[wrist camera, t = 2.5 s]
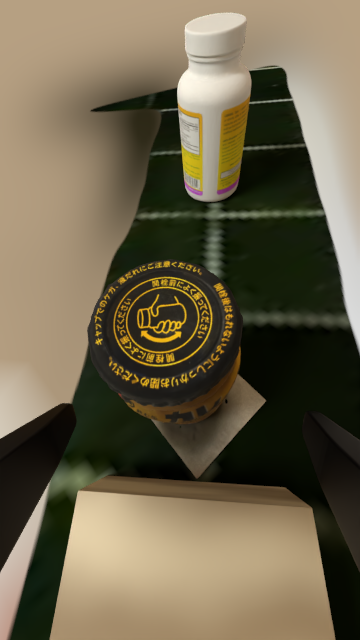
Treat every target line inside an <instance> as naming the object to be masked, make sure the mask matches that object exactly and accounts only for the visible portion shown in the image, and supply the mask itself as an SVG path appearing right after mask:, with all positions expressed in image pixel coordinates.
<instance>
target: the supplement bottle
mask: <svg viewBox="0 0 360 640" xmlns="http://www.w3.org/2000/svg"><path fill="white" fill-rule="evenodd" d="M245 32H246V17H245V16H243V15H241V14H238V13H216V14H211V15H206V16H202V17H199V18H196V19H194V20H192V21H190V22H189V23H187V24H186V26H185V50H186V52H187V57H188V58H189V69H187V71H185V72H184V74H183V75H182V77H181V79H180V81H179V84H178V90H177V95H178V109H179V121H180V132H181V145H182V157H183V169H184V180H185V187H186V190H187V192H188V194H189V195H190V196H191V197H193V198H194V199H196V200H199V201H203V202H216V201H220V200H223V199H225V198H227V197H229V196H230V195H231V194H232V193H233V192H234V191H235V190H236V188H237V185H238V181H239V174H240V167H241V159H242V152H243V144H244V137H245V129H246V122H247V114H248V107H249V100H250V92H251V76H250V73H249V71H248V69H247V68H246V67H245V66H244V65H243V64H242V63H240V52H241V50H242V48H243V44H244V42H245Z"/></svg>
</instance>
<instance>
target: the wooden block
mask: <svg viewBox="0 0 360 640" xmlns="http://www.w3.org/2000/svg"><path fill="white" fill-rule="evenodd" d="M50 640H335V634H334V629H333V623H332V617H331V612H330V606H329V600H328V595H327V589H326V583H325V578H324V572H323V566H322V561H321V555H320V549H319V544H318V538H317V533H316V527H315V521H314V516H313V510H312V508H311V507H310V506H309V505H307V504H306V503H305V502H303V501H302V500H301V499H299V498H298V497H297V496H295V495H294V494H293V493H291V492H290V491H289V490H288V489H286V488H285V487H271V486H256V485H241V484H226V483H211V482H196V481H181V480H166V479H151V478H136V477H121V476H106V477H104V478H102V479H100V480H98V481H96V482H94V483H92V484H90V485H88V486H86V487H84V488H82V489H81V490H79V491H78V495H77V500H76V506H75V511H74V516H73V521H72V526H71V532H70V537H69V542H68V547H67V552H66V558H65V563H64V568H63V573H62V579H61V584H60V589H59V594H58V599H57V605H56V610H55V615H54V620H53V625H52V631H51V636H50Z"/></svg>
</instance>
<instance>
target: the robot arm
mask: <svg viewBox="0 0 360 640" xmlns="http://www.w3.org/2000/svg"><path fill="white" fill-rule="evenodd" d="M75 426H76V415H75V412H74V408H73V405H72V404H70V403H62V404H60V405H58V406H56V407H54V408H52V409H51V410H49V411H47V412H46V413H44V414H42V415H41V416H39V417H37V418H35V419H34V420H32V421H30V422H29V423H27V424H25V425H23V426H22V427H20V428H18V429H16V430H15V431H13V432H11V433H9V434H8V435H6V436H5V437H3V438H1V439H0V572H1V570H2V568H3V566H4V564H5V563H6V561H7V559H8V557H9V555H10V553H11V551H12V550H13V548H14V546H15V544H16V542H17V540H18V539H19V537H20V535H21V533H22V531H23V529H24V527H25V526H26V524H27V522H28V520H29V518H30V517H31V515H32V513H33V511H34V509H35V507H36V505H37V504H38V502H39V500H40V498H41V496H42V494H43V493H44V491H45V489H46V487H47V485H48V483H49V482H50V480H51V478H52V476H53V474H54V472H55V470H56V468H57V467H58V465H59V462H60V460H61V458H62V456H63V454H64V451H65V449H66V447H67V444H68V442H69V440H70V438H71V435H72V433H73V431H74V428H75ZM302 433H303V437H304V440H305V443H306V446H307V449H308V452H309V454H310V457H311V460H312V463H313V466H314V469H315V472H316V475H317V477H318V480H319V483H320V485H321V487H322V490H323V492H324V494H325V496H326V498H327V501H328V503H329V505H330V507H331V509H332V512H333V514H334V516H335V518H336V520H337V523H338V525H339V527H340V529H341V531H342V534H343V536H344V538H345V540H346V543H347V545H348V547H349V549H350V551H351V554H352V556H353V558H354V560H355V562H356V565H357V567H358V569H359V571H360V440H359V439H357V438H356V437H354V436H353V435H351V434H350V433H349V432H347V431H346V430H344V429H343V428H341V427H340V426H339V425H337V424H336V423H334V422H333V421H331V420H330V419H329V418H327V417H326V416H324V415H323V414H321V413H320V412H317V411H307V412H306V413H305V416H304V421H303V426H302Z"/></svg>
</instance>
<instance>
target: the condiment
mask: <svg viewBox="0 0 360 640" xmlns="http://www.w3.org/2000/svg"><path fill="white" fill-rule="evenodd" d="M242 328H243V317H242V315H241V313H240V309H239V307H238V306H237V303H236V301H235V299H234V297H233V294H232V292H231V290H230V289H229V288H228V287H227V285H226V284H225V283H224V282H223V281H221V280H220V279H219V278H218V277H217V276H215V275H214V274H213V273H211V272H209V271H208V270H207V269H205V268H203V267H201V266H200V265H196V264H191V263H186V262H182V261H179V260H163V261H156V262H151V263H147V264H144V265H141V266H138V267H136V268H134V269H132V270H130V271H128V272H127V273H126V274H124V275H123V276H121V277H119V278H118V279H117V280H116V281H115V282H113V283H112V284H110V285H108V286H107V289H106V291H105V293H104V294H103V295H102V296H101V297H100V298H99V300H98V301H97V303H96V305H95V308H94V312H93V314H92V316H91V321H90V324H89V326H88V330H87V331H88V341H89V347H90V354H91V360H92V363H93V365H94V366H95V368H96V369H97V371H98V372H99V375H100V377H101V378H102V379H103V380H104V381H105V382H107V383H108V385H109V388H110V389H111V390H113V391H115V392H117V393H118V394H119V395H120V396H121V398H123V399H124V401H125V403H127V405H128V406H129V407H130V408H132V409H133V410H134V411H135V412H137V413H139V414H140V415H142V416H144V417H147V418H150V419H151V420H152V421H153V422H154V423H155V425H156V426H157V428H158V429H159V430H160V431H161V433H162V434H163V436H164V437H165V438H166V439H167V441H168V442H169V443H170V444H171V446H172V447H173V448H174V450H175V451H176V452H177V454H178V455H179V456H180V457H181V459H182V460H183V462H184V463H185V464H186V466H187V467H188V468H189V469H190V471H191V472H192V473H193V475H194V476H195V477H196V479H197V478H198V477H199V476H200V475H201V474H202V473H203V472H204V470H205V469H206V468H207V467H208V466H209V465H210V464H211V462H212V461H213V460H214V459H215V458H216V457H217V456H218V454H219V453H220V452H221V451H222V450H223V449H224V448H225V446H226V445H227V444H228V443H229V442H230V441H231V440H232V439H233V437H234V436H235V435H236V434H237V433H238V431H239V430H241V428H242V427H243V426H244V425H245V424H246V423H247V422H248V421H249V420H250V418H251V417H252V416H253V415H254V414H255V413H256V412H257V411H258V409H259V408H260V407H261V406H262V405H263V404H264V403H265V402H266V400H265V399H264V398H263V397H262V396H261V395H260V394H259V393H258V392H257V391H256V390H254V389H253V388H252V387H251V386H250V385H249V384H248V383H247V382H246V381H245V380H244V379H243V378H242V377H240V376H239V375H238V372H239V368H240V358H241V349H240V345H241V338H242ZM225 399H227V401H228V403H227V404H226V403H225ZM179 426H181V428H179Z"/></svg>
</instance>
